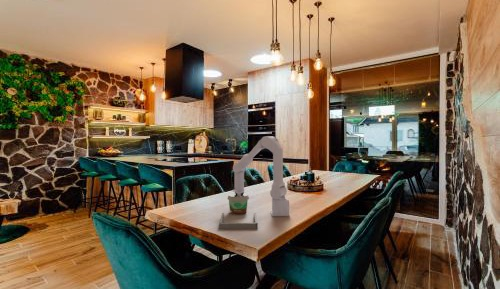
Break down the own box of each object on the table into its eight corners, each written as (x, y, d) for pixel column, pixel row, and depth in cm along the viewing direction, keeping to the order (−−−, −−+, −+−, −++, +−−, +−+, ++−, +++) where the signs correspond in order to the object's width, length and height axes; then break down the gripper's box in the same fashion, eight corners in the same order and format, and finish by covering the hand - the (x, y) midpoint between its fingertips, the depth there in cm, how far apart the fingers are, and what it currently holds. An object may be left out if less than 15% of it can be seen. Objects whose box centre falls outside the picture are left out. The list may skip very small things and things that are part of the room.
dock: (255, 217, 137) (255, 212, 137) (257, 228, 120) (257, 223, 120) (222, 217, 137) (222, 213, 136) (219, 229, 120) (219, 223, 119)
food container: (228, 216, 140) (228, 197, 139) (227, 212, 146) (227, 195, 145) (250, 214, 142) (250, 196, 142) (248, 211, 148) (248, 194, 148)
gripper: (233, 180, 161) (233, 202, 162) (232, 185, 147) (232, 208, 147) (244, 180, 161) (244, 202, 162) (244, 185, 147) (244, 208, 147)
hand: (239, 205), depth 154 cm, fingers open, 7 cm apart
